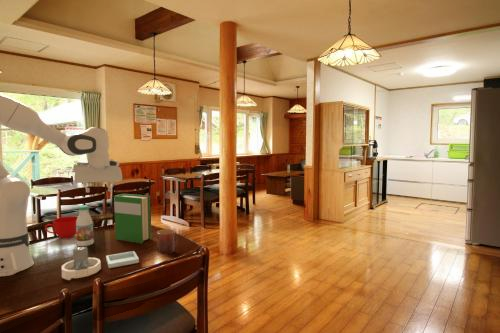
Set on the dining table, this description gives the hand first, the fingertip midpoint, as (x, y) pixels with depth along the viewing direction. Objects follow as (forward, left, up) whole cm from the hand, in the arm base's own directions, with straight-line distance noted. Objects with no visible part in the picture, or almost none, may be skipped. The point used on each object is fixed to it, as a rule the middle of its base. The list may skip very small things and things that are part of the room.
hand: (99, 191), depth 148 cm
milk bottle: (-6, +19, -30) cm, 36 cm away
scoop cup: (-9, -19, -29) cm, 36 cm away
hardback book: (+17, +15, -30) cm, 38 cm away
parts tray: (+7, -17, -30) cm, 35 cm away
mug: (+27, -12, -30) cm, 42 cm away
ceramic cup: (-16, +37, -30) cm, 50 cm away
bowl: (-9, -19, -30) cm, 37 cm away
